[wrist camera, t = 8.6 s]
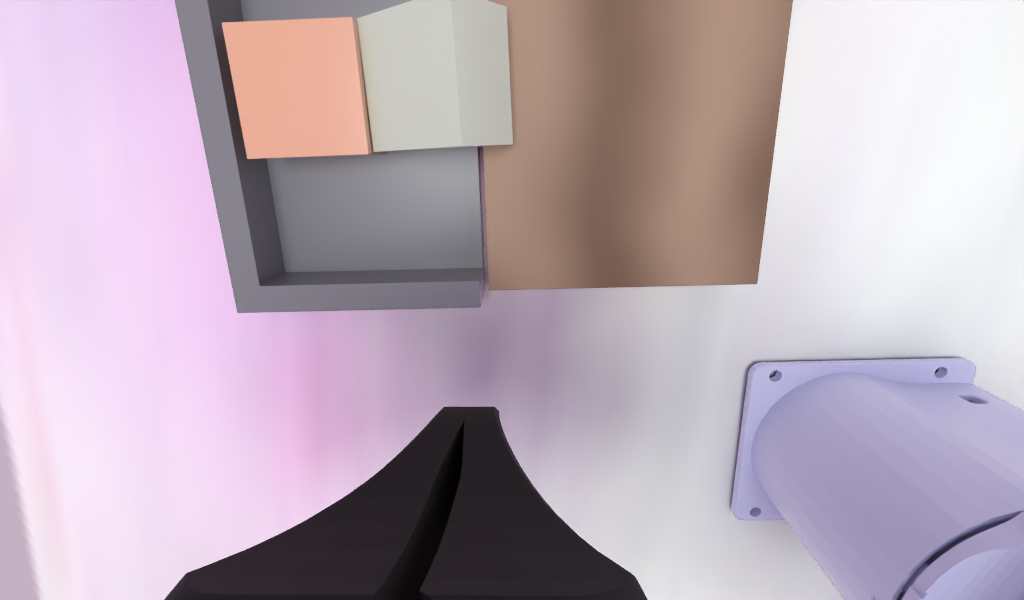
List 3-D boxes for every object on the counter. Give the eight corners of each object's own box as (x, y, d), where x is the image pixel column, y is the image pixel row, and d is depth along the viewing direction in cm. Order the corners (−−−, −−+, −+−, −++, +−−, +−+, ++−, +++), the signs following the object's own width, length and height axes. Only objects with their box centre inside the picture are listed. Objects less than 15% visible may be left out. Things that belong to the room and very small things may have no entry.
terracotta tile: (374, 35, 17) (352, 17, 15) (387, 153, 18) (368, 154, 16) (262, 40, 17) (221, 22, 15) (282, 158, 18) (247, 159, 16)
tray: (464, -153, 16) (456, -207, 14) (484, 288, 20) (480, 307, 18) (191, -144, 16) (135, -196, 14) (269, 293, 20) (237, 312, 18)
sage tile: (506, 6, 15) (449, -12, 13) (512, 144, 16) (462, 146, 14) (415, 31, 17) (356, 18, 15) (427, 149, 18) (373, 151, 16)
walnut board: (779, -145, 16) (816, -185, 14) (733, 271, 20) (756, 283, 18) (475, -135, 16) (469, -174, 14) (491, 277, 20) (489, 290, 18)
